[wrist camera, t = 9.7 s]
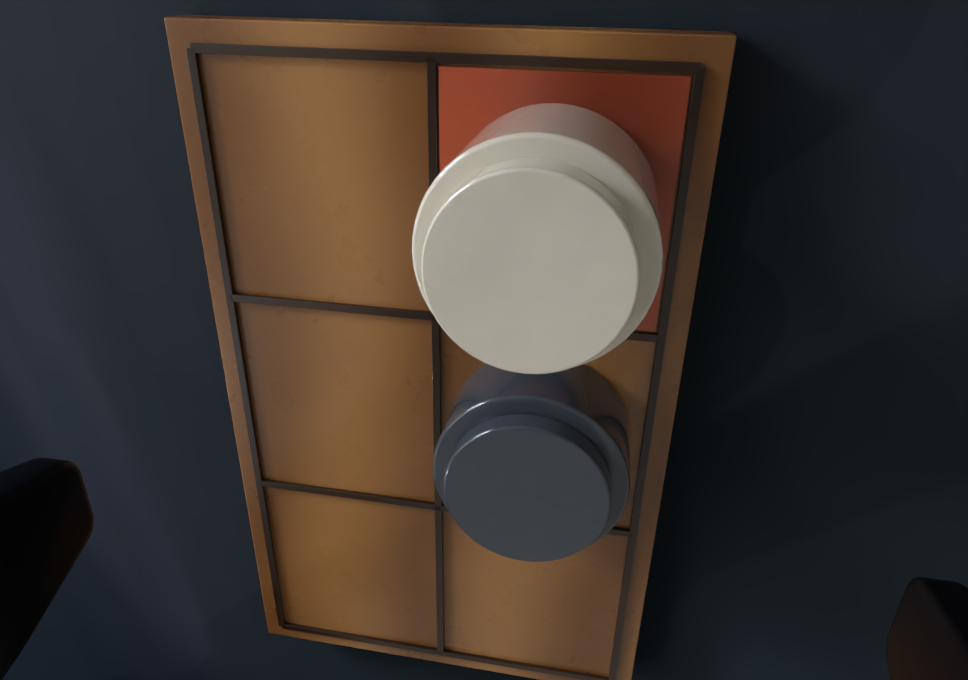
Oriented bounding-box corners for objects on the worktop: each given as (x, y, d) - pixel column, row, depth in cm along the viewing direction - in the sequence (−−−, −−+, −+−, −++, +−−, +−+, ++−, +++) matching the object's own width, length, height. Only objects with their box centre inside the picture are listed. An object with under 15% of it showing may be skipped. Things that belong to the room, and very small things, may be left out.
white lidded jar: (449, 297, 17) (402, 380, 14) (448, 97, 15) (392, 135, 12) (645, 315, 17) (647, 407, 13) (672, 107, 14) (683, 151, 11)
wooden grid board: (280, 610, 25) (266, 636, 24) (188, 14, 17) (159, 17, 16) (629, 668, 23) (629, 699, 22) (731, 31, 15) (738, 35, 14)
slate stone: (452, 488, 20) (427, 560, 18) (452, 341, 18) (423, 399, 15) (620, 511, 19) (618, 589, 17) (640, 360, 17) (641, 425, 15)
